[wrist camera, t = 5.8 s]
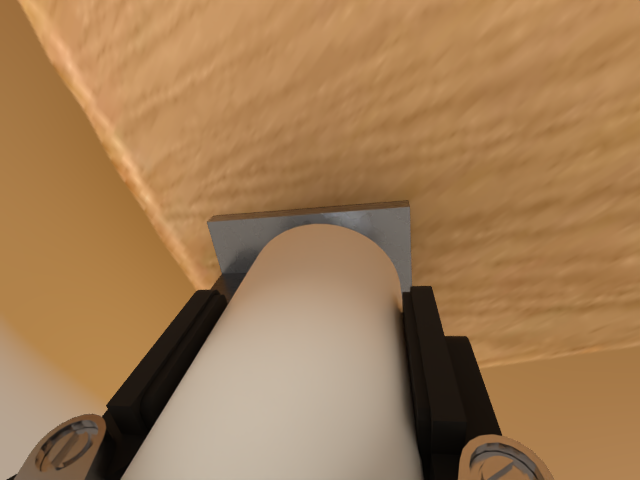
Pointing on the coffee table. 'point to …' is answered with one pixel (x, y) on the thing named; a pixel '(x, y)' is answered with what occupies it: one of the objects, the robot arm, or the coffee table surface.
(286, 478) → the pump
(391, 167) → the coffee table surface
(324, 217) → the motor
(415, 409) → the robot arm
